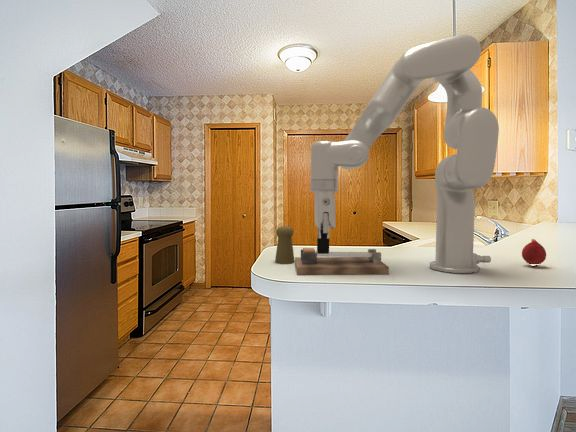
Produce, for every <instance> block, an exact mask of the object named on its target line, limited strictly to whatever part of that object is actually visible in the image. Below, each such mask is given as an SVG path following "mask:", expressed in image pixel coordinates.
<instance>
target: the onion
mask: <svg viewBox="0 0 576 432" xmlns="http://www.w3.org/2000/svg"><path fill="white" fill-rule="evenodd" d="M521 257H522V259H523V260H524V261H525V262H526V263H527V264H528V263H529V264H539V265H541V264H542V263H544V262H545V260H546V258H547V253H546V249H545V247H544V246H543V245H542V244H541V243H539V242H538V241H537V240H536V239H535V238H532V239H531V242H529V243H526V244H525V245H524V247H523V248H522V251H521ZM529 264H528V265H529Z"/></svg>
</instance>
